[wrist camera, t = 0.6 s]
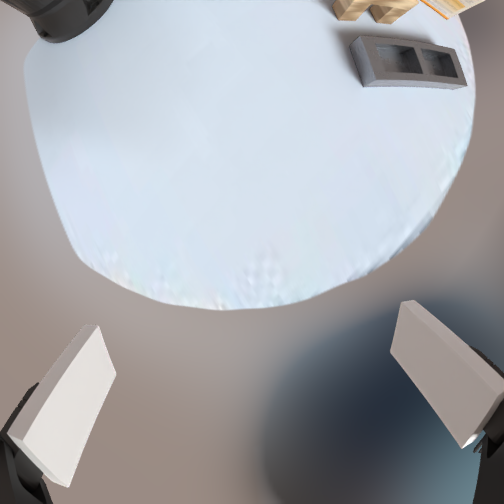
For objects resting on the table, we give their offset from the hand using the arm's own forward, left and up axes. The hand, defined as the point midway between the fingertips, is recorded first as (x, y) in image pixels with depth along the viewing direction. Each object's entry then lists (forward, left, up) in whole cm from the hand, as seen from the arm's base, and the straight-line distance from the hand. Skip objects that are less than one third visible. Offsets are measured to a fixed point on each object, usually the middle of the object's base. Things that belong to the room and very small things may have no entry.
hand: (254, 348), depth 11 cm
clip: (-29, +27, -26) cm, 48 cm away
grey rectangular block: (-19, +32, -26) cm, 46 cm away
